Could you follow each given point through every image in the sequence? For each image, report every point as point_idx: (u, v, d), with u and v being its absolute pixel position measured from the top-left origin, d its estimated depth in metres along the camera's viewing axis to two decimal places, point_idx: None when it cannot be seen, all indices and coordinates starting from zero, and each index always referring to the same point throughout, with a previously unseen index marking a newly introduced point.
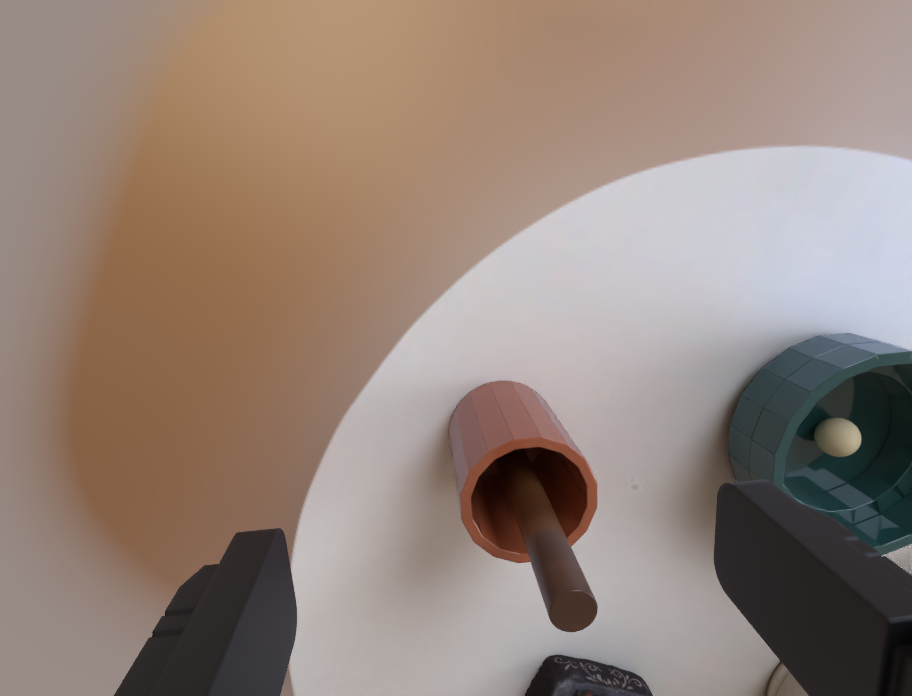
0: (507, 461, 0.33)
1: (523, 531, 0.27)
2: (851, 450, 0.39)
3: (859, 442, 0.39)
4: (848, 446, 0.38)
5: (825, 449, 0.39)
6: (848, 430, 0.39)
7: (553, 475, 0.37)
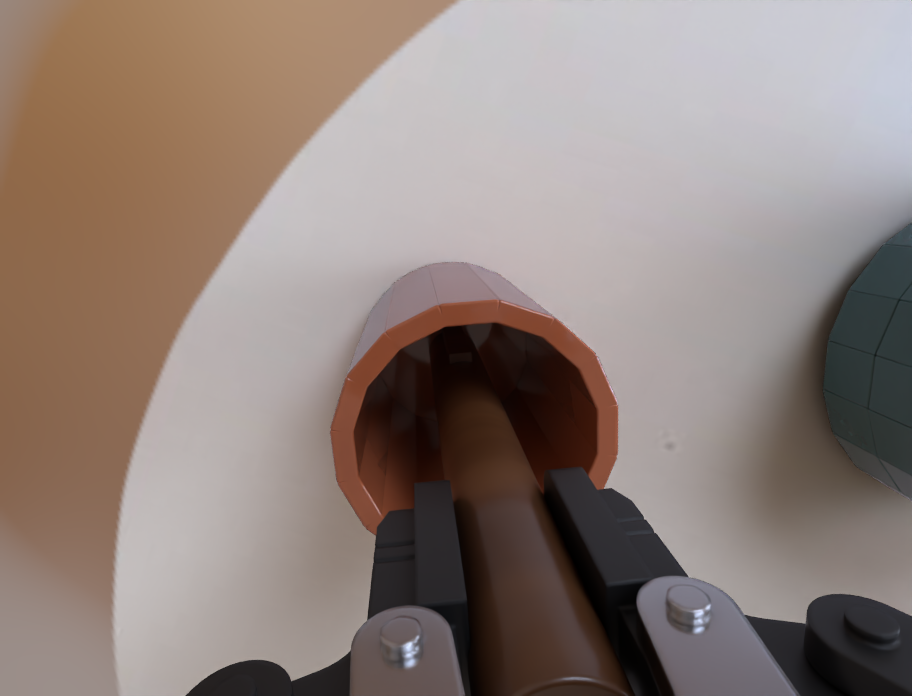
0: (445, 377, 0.18)
1: None
2: None
3: None
4: None
5: None
6: None
7: (535, 414, 0.21)
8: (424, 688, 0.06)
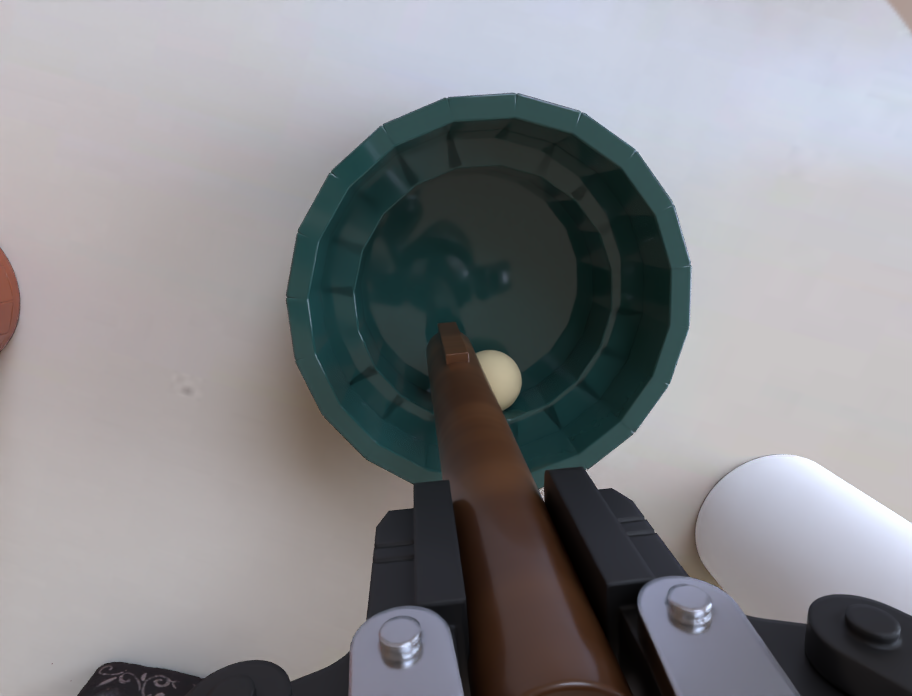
0: (442, 378, 0.18)
1: None
2: None
3: None
4: None
5: None
6: None
7: None
8: (423, 689, 0.06)
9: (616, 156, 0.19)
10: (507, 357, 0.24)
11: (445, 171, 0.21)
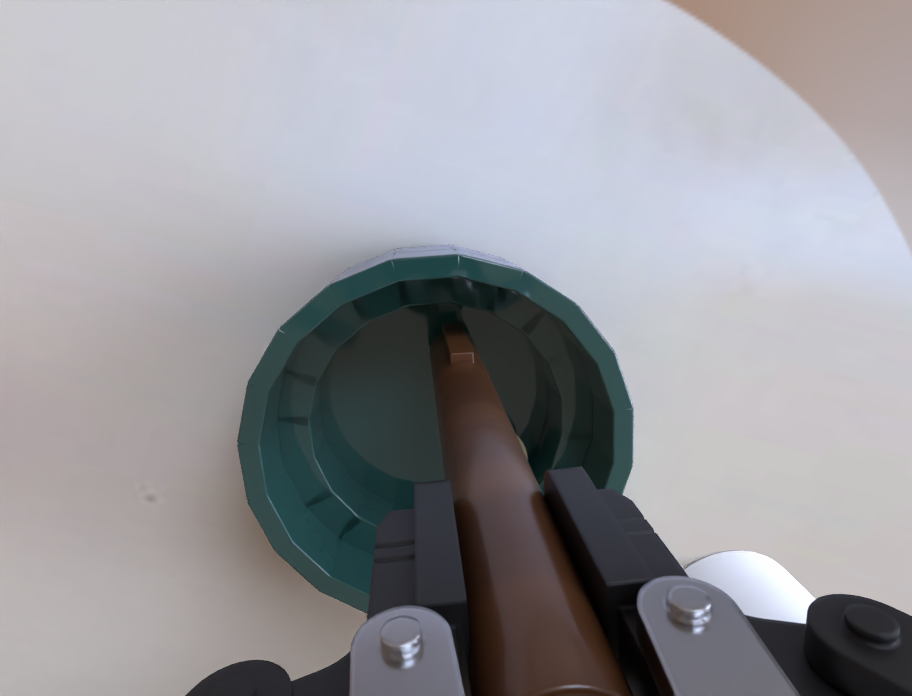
0: (446, 378, 0.18)
1: None
2: None
3: None
4: None
5: None
6: None
7: None
8: (424, 688, 0.06)
9: (558, 310, 0.19)
10: None
11: (397, 309, 0.22)
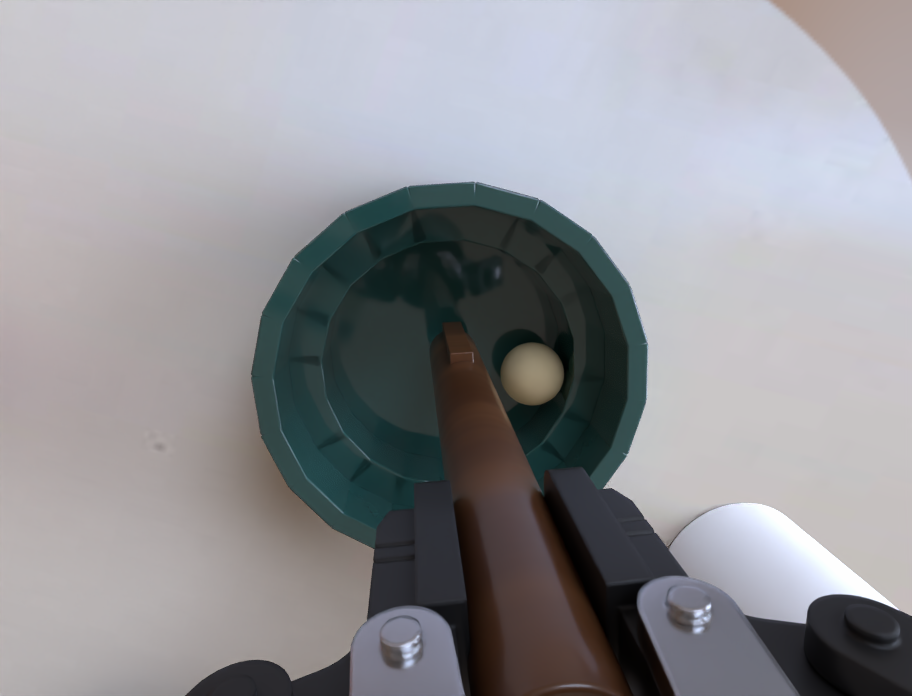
0: (446, 377, 0.18)
1: None
2: (525, 383, 0.23)
3: (541, 393, 0.23)
4: (532, 374, 0.23)
5: (513, 353, 0.24)
6: (556, 369, 0.24)
7: None
8: (424, 688, 0.06)
9: (573, 241, 0.19)
10: None
11: (410, 246, 0.22)
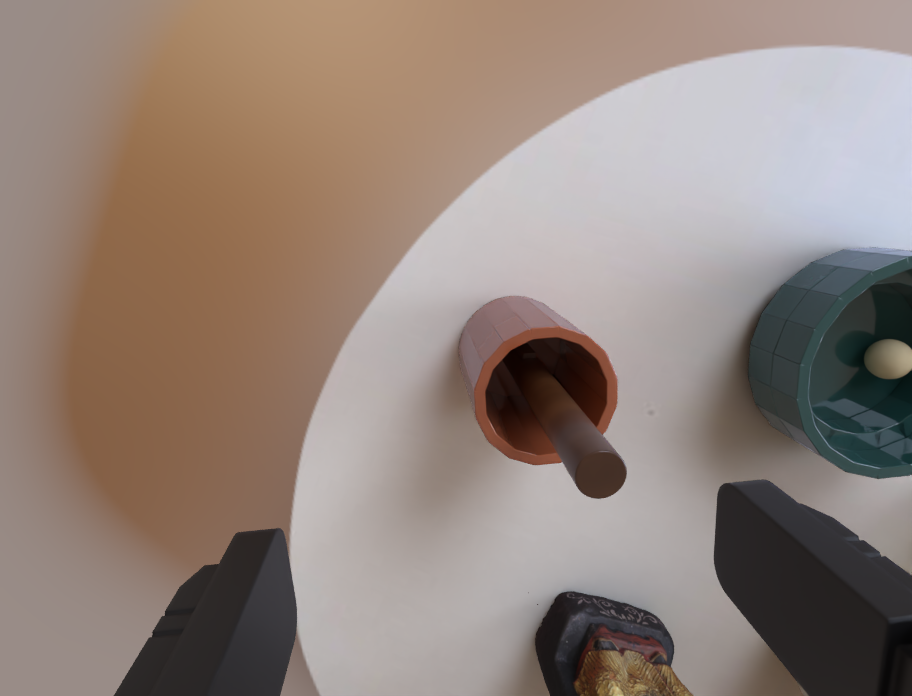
0: (522, 366, 0.32)
1: (543, 416, 0.26)
2: (870, 356, 0.38)
3: (880, 363, 0.38)
4: (875, 351, 0.38)
5: (874, 343, 0.39)
6: (896, 351, 0.37)
7: (568, 388, 0.35)
8: None
9: None
10: None
11: None
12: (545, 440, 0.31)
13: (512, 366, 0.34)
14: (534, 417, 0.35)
